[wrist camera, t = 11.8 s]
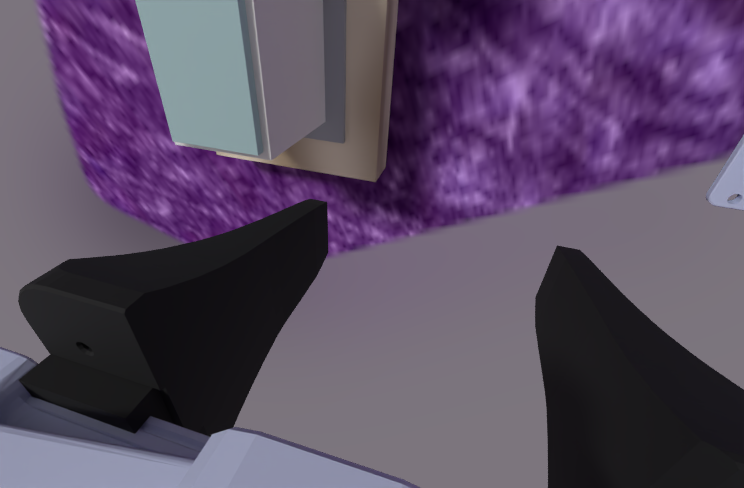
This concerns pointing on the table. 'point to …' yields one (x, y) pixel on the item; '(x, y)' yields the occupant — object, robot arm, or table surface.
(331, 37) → the stand
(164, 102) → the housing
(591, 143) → the table surface
